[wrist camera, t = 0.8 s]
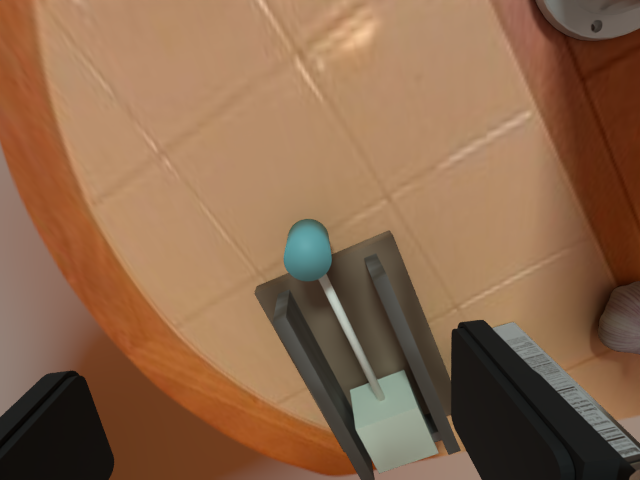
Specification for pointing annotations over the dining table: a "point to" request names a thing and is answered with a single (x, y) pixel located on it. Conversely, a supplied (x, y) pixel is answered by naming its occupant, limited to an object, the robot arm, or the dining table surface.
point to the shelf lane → (360, 339)
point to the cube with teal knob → (364, 367)
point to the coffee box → (572, 392)
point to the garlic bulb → (622, 320)
